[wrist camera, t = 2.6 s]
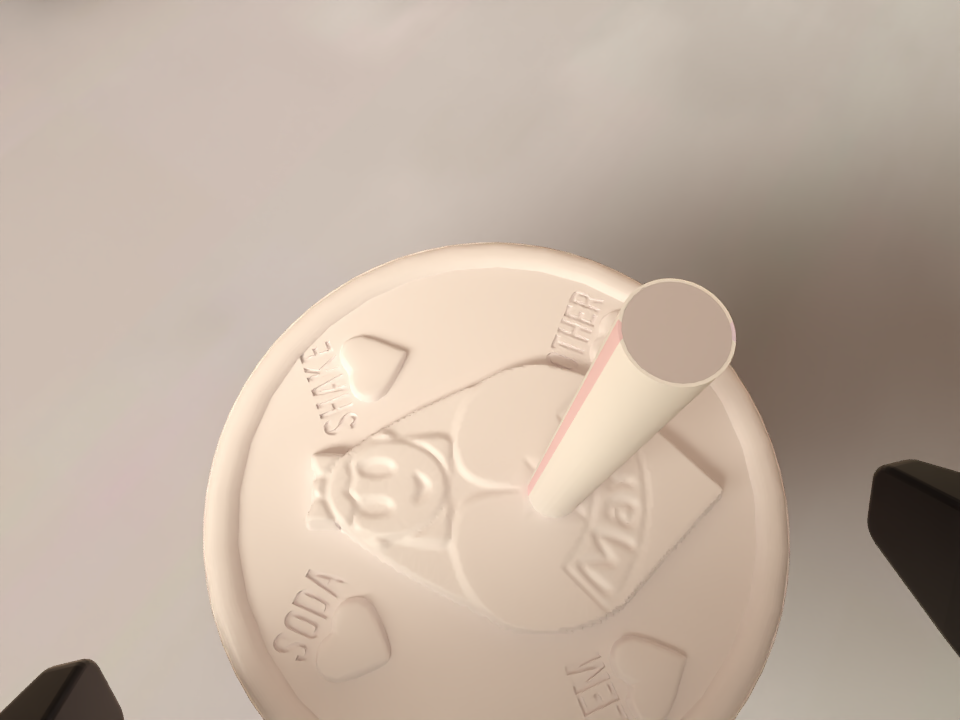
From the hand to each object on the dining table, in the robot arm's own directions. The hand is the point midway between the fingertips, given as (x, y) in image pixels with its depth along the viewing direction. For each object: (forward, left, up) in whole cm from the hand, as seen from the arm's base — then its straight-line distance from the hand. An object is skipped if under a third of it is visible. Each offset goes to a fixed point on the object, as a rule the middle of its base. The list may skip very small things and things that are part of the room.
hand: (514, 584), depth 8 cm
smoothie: (+1, 0, -9) cm, 9 cm away
